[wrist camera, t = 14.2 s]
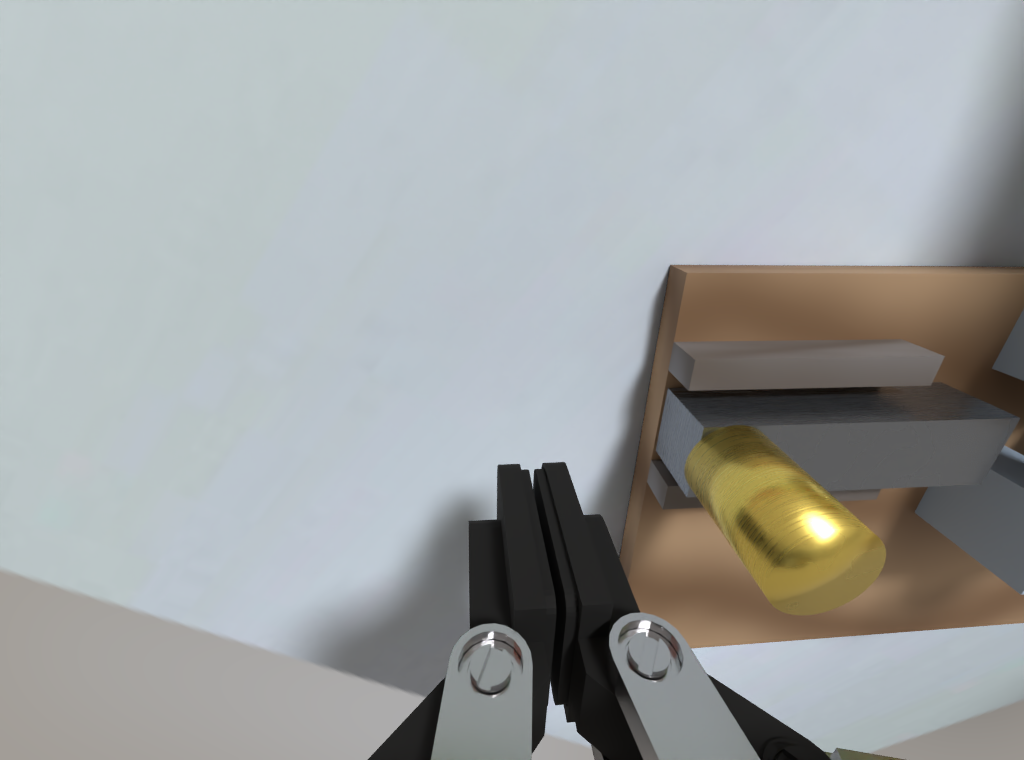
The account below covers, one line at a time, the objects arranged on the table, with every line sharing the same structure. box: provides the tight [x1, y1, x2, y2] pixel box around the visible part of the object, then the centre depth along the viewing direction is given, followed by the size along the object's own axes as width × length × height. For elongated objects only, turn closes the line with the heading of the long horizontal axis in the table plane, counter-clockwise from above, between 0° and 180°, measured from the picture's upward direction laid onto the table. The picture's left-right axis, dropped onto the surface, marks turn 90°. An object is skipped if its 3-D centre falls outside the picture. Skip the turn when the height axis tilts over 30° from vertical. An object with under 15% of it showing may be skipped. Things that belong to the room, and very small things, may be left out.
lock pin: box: [656, 382, 1021, 615], centre depth 13 cm, size 3×10×6 cm, turn 89°
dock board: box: [619, 265, 1024, 648], centre depth 18 cm, size 18×22×3 cm
